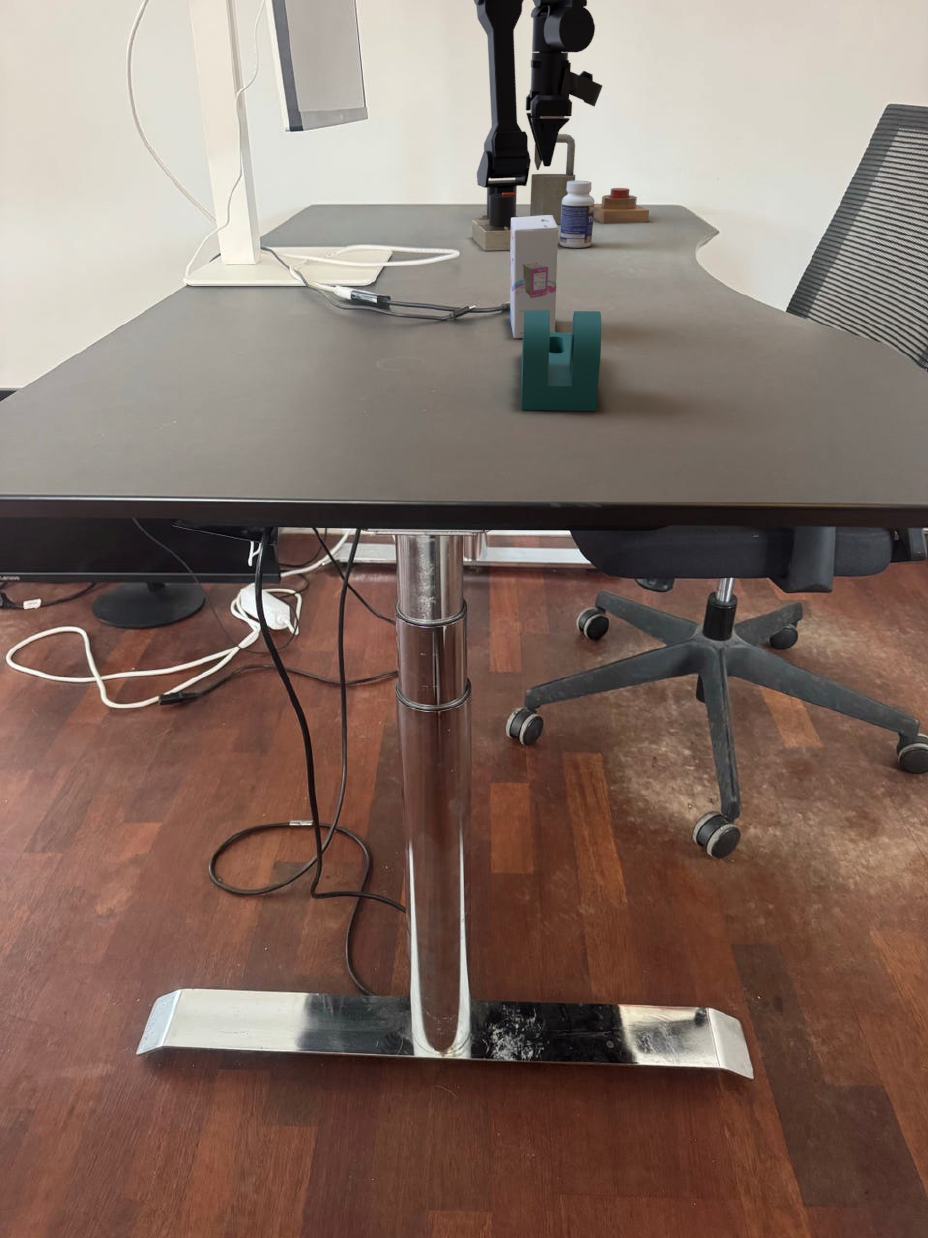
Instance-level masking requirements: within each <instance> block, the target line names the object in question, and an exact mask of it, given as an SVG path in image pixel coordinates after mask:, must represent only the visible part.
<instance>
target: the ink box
mask: <svg viewBox="0 0 928 1238" xmlns="http://www.w3.org/2000/svg"><path fill="white" fill-rule="evenodd" d="M558 243H559V225H558V224H556V222H555V220H554V218H553V215H541V216H530V215H527V216H517V217H513V218H511V244H510V250H509V251H510V252H509V255H510V259H509V260H510V261H509V264H510V265H509V269H510V271H509V274H510V276H509V277H510V279H509V296H510V297H509V315H510V316H509V320H510V321H509V322H510V325H511V331H512V336H513V339H523V330H524V310H534V311H550V332H556V311H557V310H556V307H557V277H558V276H557V275H558V245H559V244H558Z"/></svg>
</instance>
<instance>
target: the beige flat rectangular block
mask: <svg viewBox="0 0 928 1238" xmlns="http://www.w3.org/2000/svg"><path fill="white" fill-rule="evenodd" d="M471 223H472V224H471V225H472V226H471V232H472V233H471V239H472V240H473V241H475V242H476V243H477V245H478V246H479V247H481V249H483V250H484V251H485V252H494V251H495V252H496V251H497V252H498V251H510V244H511V226H504V227H500V226H491V225H489V220H484V219H472V220H471Z"/></svg>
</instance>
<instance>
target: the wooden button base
mask: <svg viewBox="0 0 928 1238" xmlns="http://www.w3.org/2000/svg"><path fill="white" fill-rule="evenodd" d="M637 198H638V196H635V195H631V194H629V198H610V194H605V195H603V196H601V203H594V215H593V220H595V221H597V222H599V223H601V224H606V225H607V224H633V223H634V224H636V223H649V217H650V210H649V209H647V208H645V207H643V206H640V205H638V204H637V203H638V201H637V200H638V199H637Z"/></svg>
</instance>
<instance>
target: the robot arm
mask: <svg viewBox="0 0 928 1238" xmlns="http://www.w3.org/2000/svg"><path fill="white" fill-rule="evenodd" d="M524 1H525V0H473V2H474V5H475V7H476V16H477V21H478V22H479V24H480V25H481V27H482V29H483V30H484V32H485V34H486V36H487V37H486V38H487V55H488V56H487V57H488V77H489V96H490V97H489V98H490V117H491V118H490V119H491V128H490V130H489V132H488V134H487V136H486V138H485V140H484V143H483V152H482V155H481V159H480V161H479V165H478V169H477V171H476V180H477V181H476V182H477V186H479V187H481V188H484V189H485V188H486V215H481V216H482V217H481V218H482V220H489V195H491V194H501V193H515V217H518V216H517V193H518V187H526V186H527V184H528V181H529V175H530V167H531V162H532V159H531V155H530V152H529V148H528V147H529V146H528V145H529V144H528V142H529V137H528V134H527V132H526V131H525V130H524V131H523V130H522V129H521V127H520V125H519V123H518V110H517V109H518V107H517V85H516V84H517V82H516V59H515V58H516V57H515V28H516V27H517V24H518V22H519V19H520V18H521V15H522V13H523V3H524ZM532 2H533V4H534V7H533V9H532V10H531V13H530V18H532V43H531V59H530V68H531V70H530V89H529V93H528V95H527V96H526V97H525V111H528V112H526V113H525V114H526V118H527V121H528V123H529V124H528V125H529V128H530V131H531V134H532V138H533V142H534V146H535V145H536V148H537V152H538V155H539V158H540V160H541V161H542V162H541V163H542V165H543V167H545V168H546V167H551V165H552V161H553V157H554V153H555V149H556V145H557V143H556V141H557V137H558V134H560V133H559V132H560V131H561V129H562V128H563V127H564V126H565V125H566V124H567V123H568V122H569V121H570V119H571V118H570V117H572V116H573V115H572V113H573V101H571V99H570V96H572V97H575V98H577V99H579V100H581V101H583V103H585V104H587V105H589V106H591V107H596V104H597V102H598V99H599V97H600V94H601V93H602V92H601V91H602V89H603V84H600V83H598V82H596V81H594V79H593V78H594V75H593V73H590V72H588V71H586V70H583V71H581V73H580V74H578V73H575V72H573V71H571V68H572V67H571V66H572V62H570V60H569V53H580V52H582V51H584V50H587V48H588V47H589V46H590V45H591V43H592V41H593V39H594V37H595V31H596V24H595V22H594V18H593V15H592V13H591V12H590V11H589V10H588V9H587V8H586V7H587V6H588V0H532ZM529 111H530V112H529ZM490 179H491V180H490Z"/></svg>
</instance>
